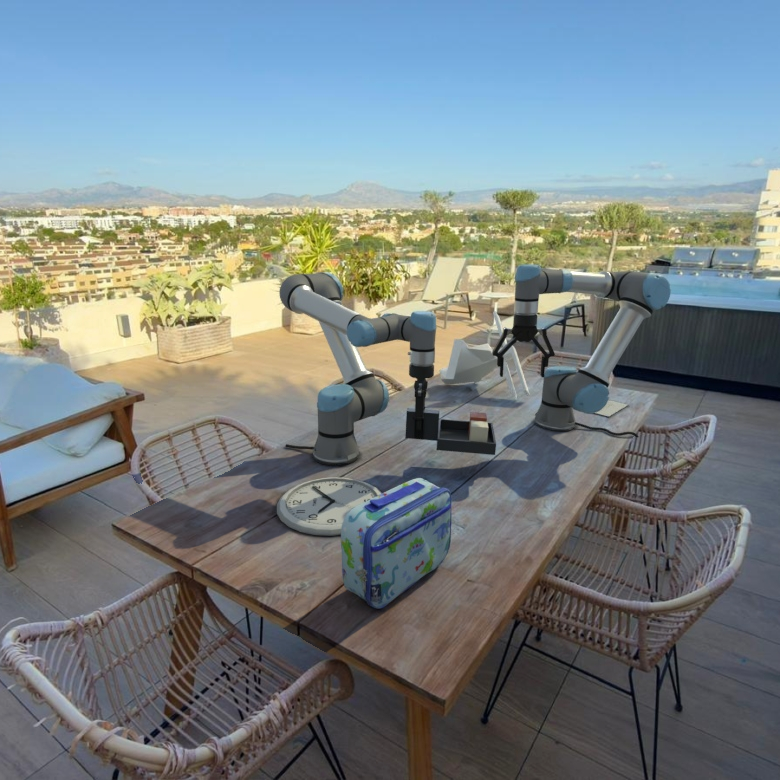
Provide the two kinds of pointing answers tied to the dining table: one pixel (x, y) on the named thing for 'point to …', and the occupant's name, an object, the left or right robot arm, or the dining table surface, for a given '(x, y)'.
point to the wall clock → (323, 504)
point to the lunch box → (395, 540)
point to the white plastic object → (480, 363)
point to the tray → (449, 433)
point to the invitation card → (611, 408)
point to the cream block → (478, 431)
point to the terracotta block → (477, 418)
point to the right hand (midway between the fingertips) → (521, 376)
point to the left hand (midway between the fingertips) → (419, 435)
